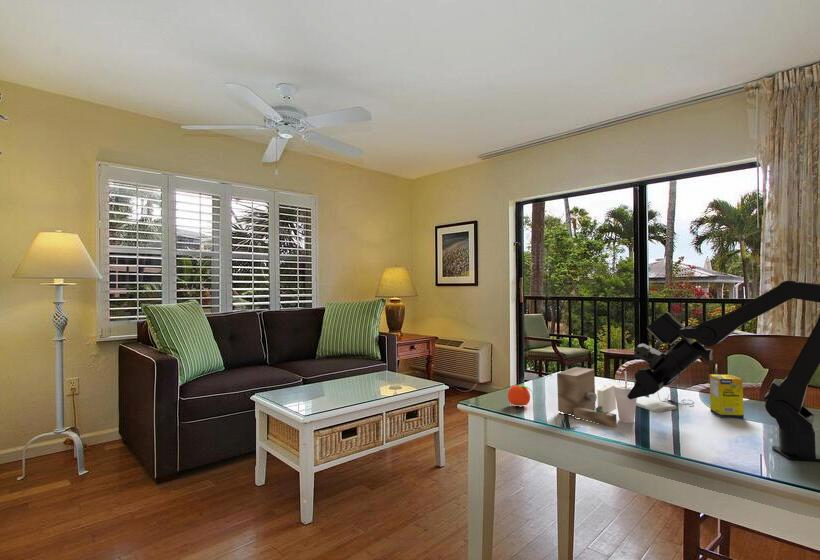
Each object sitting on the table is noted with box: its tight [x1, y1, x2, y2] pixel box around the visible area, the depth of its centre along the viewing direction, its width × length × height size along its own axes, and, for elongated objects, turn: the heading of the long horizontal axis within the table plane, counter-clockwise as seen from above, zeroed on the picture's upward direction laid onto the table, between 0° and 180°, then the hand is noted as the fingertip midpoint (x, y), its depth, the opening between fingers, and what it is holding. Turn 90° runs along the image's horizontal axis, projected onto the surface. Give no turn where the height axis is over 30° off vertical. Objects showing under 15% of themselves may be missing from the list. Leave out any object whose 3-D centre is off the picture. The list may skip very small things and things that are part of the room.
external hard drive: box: [636, 396, 678, 413], centre depth 134 cm, size 2×8×12 cm
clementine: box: [507, 384, 534, 406], centre depth 136 cm, size 8×7×7 cm
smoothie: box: [612, 370, 637, 424], centre depth 120 cm, size 6×6×14 cm
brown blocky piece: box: [556, 366, 618, 428], centre depth 126 cm, size 16×14×12 cm
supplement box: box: [708, 373, 745, 419], centre depth 123 cm, size 6×6×11 cm
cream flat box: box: [595, 383, 617, 413], centre depth 123 cm, size 2×11×7 cm, turn 134°
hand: (634, 394), depth 118 cm, fingers open, 9 cm apart
